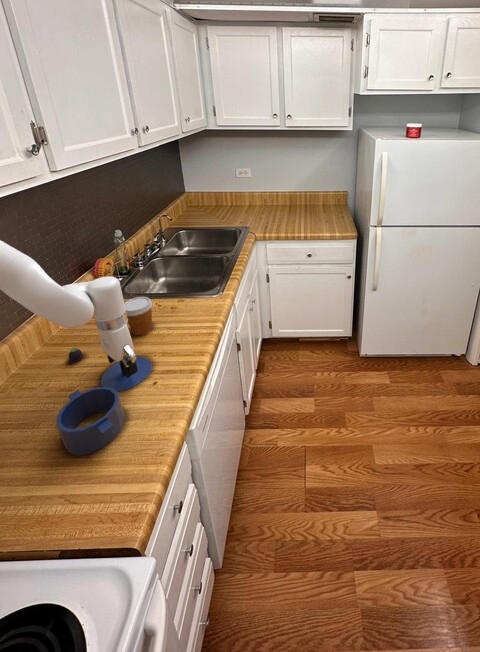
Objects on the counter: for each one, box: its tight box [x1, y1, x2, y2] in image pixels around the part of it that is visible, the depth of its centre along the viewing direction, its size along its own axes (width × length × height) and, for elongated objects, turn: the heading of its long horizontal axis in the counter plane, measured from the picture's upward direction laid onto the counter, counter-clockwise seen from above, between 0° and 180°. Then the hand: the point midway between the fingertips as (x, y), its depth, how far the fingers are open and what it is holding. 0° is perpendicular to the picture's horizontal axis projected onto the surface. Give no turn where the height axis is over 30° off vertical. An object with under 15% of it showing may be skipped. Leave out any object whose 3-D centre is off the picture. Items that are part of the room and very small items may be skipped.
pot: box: [55, 386, 126, 456], centre depth 82 cm, size 13×18×8 cm
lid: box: [100, 356, 153, 393], centre depth 100 cm, size 14×14×6 cm
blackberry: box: [68, 347, 84, 364], centre depth 105 cm, size 3×3×5 cm
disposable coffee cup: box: [124, 296, 153, 336], centre depth 117 cm, size 10×10×12 cm
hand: (123, 367), depth 99 cm, fingers open, 9 cm apart
